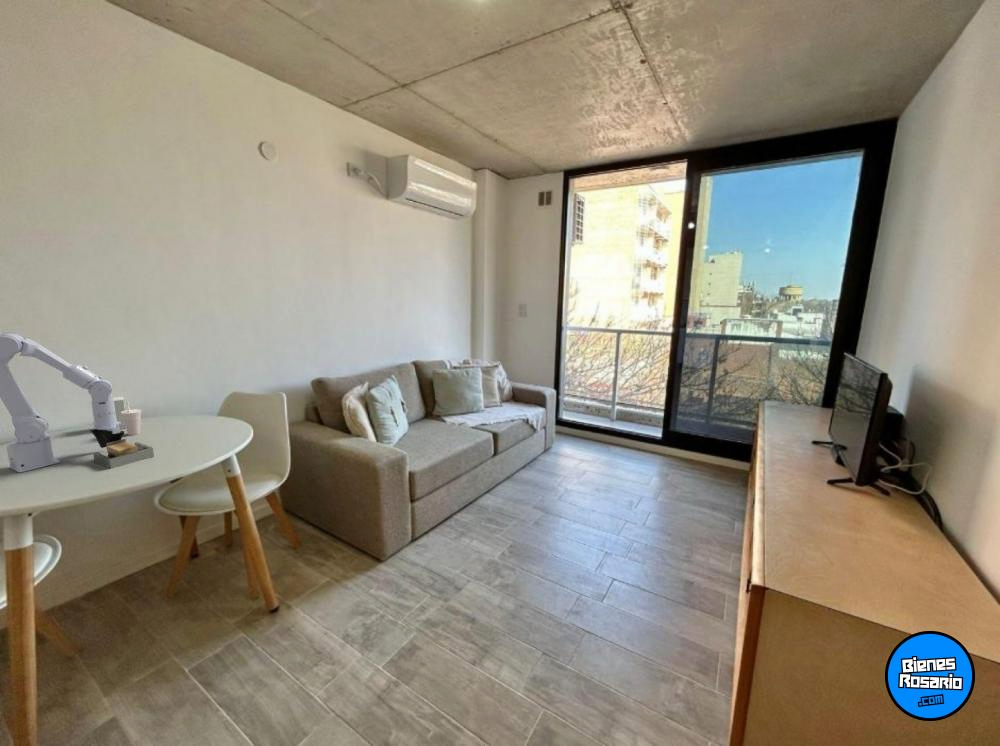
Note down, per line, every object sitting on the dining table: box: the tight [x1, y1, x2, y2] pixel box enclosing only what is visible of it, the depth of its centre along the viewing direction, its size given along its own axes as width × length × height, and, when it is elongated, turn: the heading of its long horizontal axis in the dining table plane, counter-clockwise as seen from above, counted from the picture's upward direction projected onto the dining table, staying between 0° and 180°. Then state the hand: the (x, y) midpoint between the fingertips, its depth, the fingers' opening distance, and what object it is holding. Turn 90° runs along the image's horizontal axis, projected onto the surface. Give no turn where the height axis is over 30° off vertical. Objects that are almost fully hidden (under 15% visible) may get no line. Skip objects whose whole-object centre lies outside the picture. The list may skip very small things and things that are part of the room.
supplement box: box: [113, 396, 126, 430], centre depth 171 cm, size 7×7×13 cm
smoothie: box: [121, 400, 142, 436], centre depth 165 cm, size 6×6×14 cm
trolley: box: [105, 438, 138, 458], centre depth 142 cm, size 6×8×6 cm
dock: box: [92, 441, 155, 469], centre depth 142 cm, size 12×11×3 cm
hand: (109, 448), depth 146 cm, fingers open, 7 cm apart
